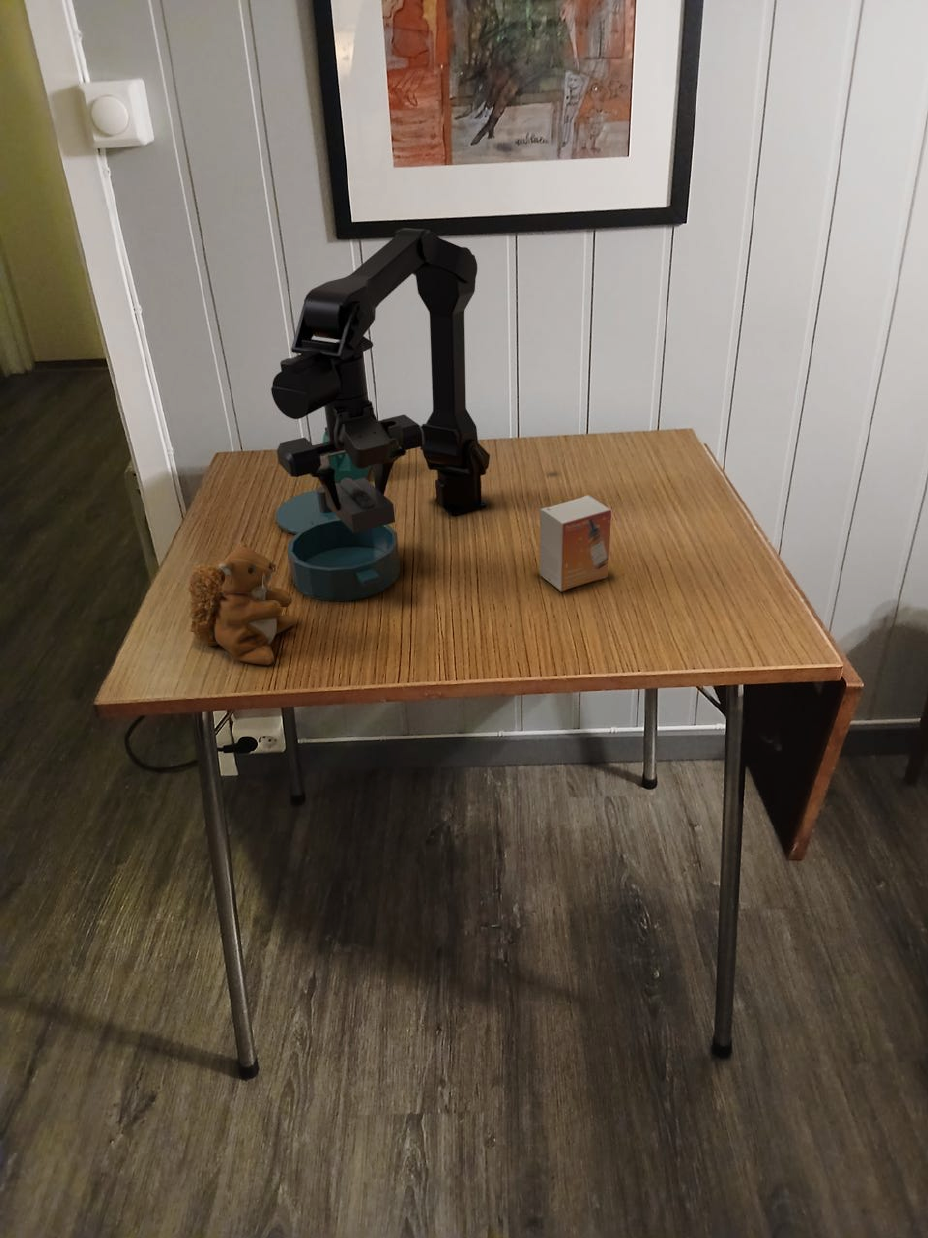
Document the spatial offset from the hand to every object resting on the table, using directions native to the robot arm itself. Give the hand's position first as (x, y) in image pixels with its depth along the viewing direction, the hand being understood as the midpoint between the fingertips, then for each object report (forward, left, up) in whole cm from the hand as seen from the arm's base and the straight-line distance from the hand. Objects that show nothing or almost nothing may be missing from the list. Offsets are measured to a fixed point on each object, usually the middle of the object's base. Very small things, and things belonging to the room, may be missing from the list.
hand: (358, 503), depth 126 cm
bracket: (-14, -40, -12) cm, 44 cm away
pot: (+2, -3, -12) cm, 12 cm away
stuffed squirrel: (+20, +6, -12) cm, 24 cm away
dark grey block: (0, 0, -2) cm, 2 cm away
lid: (-2, -22, -11) cm, 24 cm away
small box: (-25, +15, -12) cm, 31 cm away
